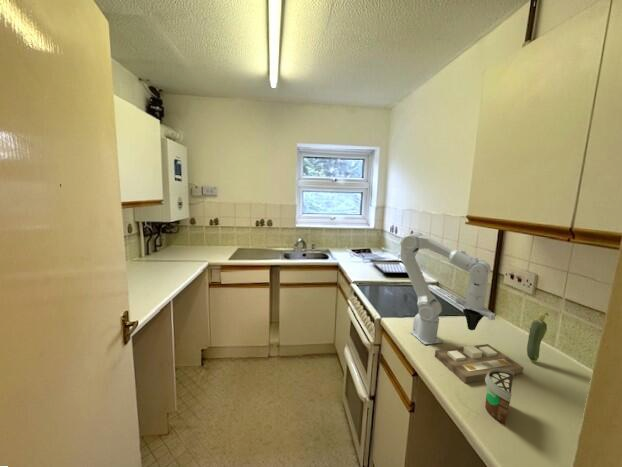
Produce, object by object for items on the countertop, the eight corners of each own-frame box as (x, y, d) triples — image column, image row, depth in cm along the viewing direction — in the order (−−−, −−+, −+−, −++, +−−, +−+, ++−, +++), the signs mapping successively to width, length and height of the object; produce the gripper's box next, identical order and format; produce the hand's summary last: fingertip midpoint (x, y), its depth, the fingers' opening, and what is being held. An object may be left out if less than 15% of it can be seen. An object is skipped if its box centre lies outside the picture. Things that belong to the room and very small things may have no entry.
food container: (483, 391, 83) (489, 361, 82) (508, 401, 80) (514, 371, 78) (477, 415, 74) (483, 383, 72) (504, 429, 70) (511, 395, 68)
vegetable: (521, 358, 101) (531, 308, 98) (528, 356, 103) (539, 306, 100) (534, 365, 97) (545, 313, 94) (542, 363, 99) (553, 312, 95)
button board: (434, 356, 99) (435, 349, 99) (486, 349, 106) (487, 343, 105) (465, 383, 86) (466, 375, 86) (522, 373, 92) (523, 366, 92)
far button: (478, 353, 101) (479, 347, 101) (486, 352, 102) (487, 346, 102) (487, 360, 98) (488, 354, 97) (496, 358, 99) (497, 352, 98)
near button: (446, 357, 98) (447, 351, 97) (455, 356, 99) (456, 350, 98) (455, 364, 94) (456, 358, 94) (464, 363, 95) (465, 357, 95)
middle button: (463, 352, 99) (464, 346, 99) (472, 351, 100) (473, 345, 100) (472, 359, 96) (473, 353, 95) (481, 358, 97) (482, 352, 96)
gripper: (451, 287, 103) (447, 321, 105) (486, 303, 90) (481, 341, 92) (465, 286, 105) (461, 319, 108) (502, 301, 92) (496, 338, 94)
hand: (471, 329), depth 100 cm, fingers closed
